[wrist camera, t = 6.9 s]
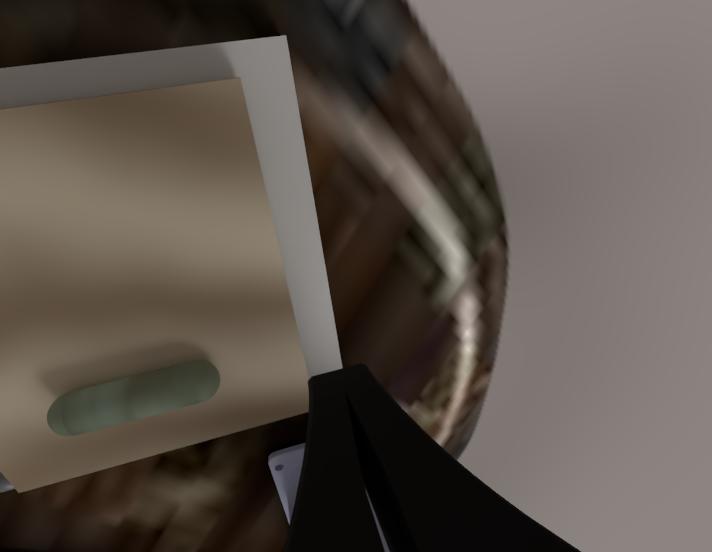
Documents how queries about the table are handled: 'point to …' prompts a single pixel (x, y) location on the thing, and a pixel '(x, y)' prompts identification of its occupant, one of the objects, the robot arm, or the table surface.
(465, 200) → the table surface
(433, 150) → the table surface
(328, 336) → the light grey square plate
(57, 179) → the board
